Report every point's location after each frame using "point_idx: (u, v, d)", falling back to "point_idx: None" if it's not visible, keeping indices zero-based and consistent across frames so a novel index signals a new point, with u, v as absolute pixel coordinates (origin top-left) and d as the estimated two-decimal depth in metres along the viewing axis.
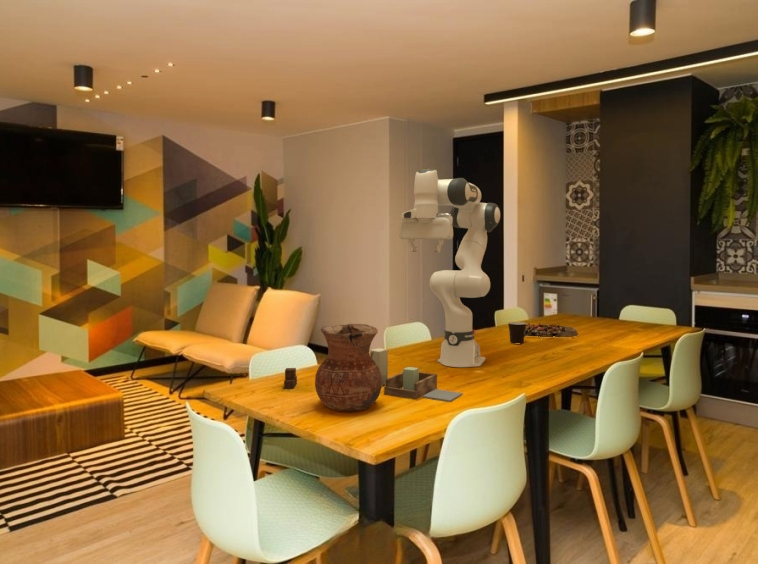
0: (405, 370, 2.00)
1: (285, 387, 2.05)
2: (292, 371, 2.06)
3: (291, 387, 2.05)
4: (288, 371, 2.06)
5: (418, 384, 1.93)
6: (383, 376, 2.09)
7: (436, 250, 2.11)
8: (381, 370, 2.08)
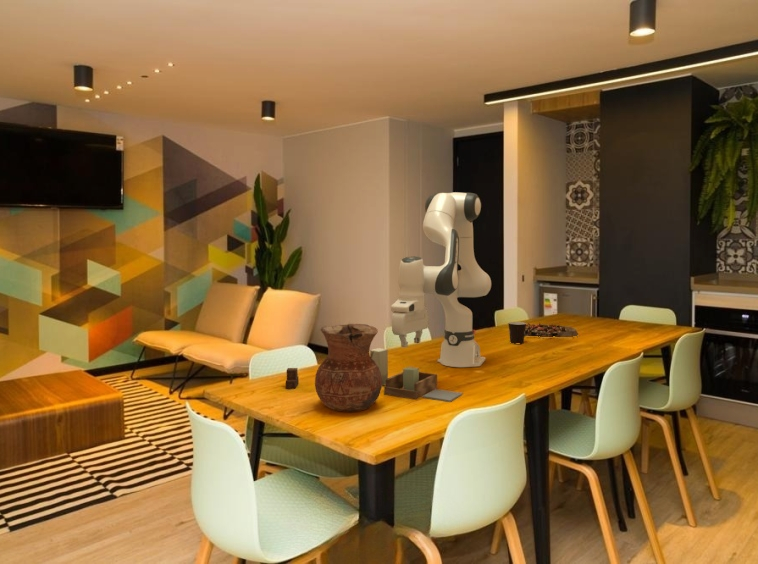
0: (405, 370, 2.00)
1: (287, 387, 2.05)
2: (294, 371, 2.06)
3: (293, 387, 2.05)
4: (290, 371, 2.06)
5: (418, 384, 1.93)
6: (383, 376, 2.09)
7: (419, 341, 2.03)
8: (381, 370, 2.08)
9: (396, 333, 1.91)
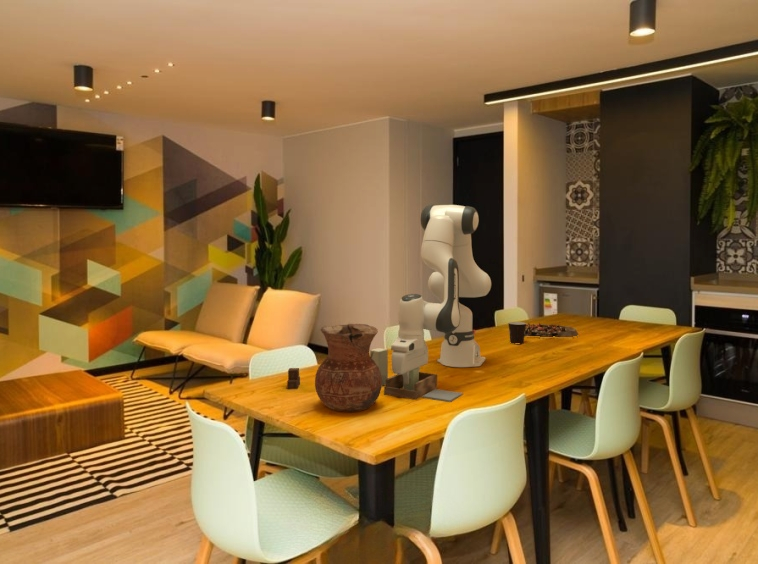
0: None
1: (288, 387, 2.05)
2: (295, 371, 2.06)
3: (294, 387, 2.05)
4: (291, 371, 2.06)
5: (418, 384, 1.93)
6: (383, 376, 2.09)
7: None
8: (381, 370, 2.08)
9: (396, 372, 1.93)
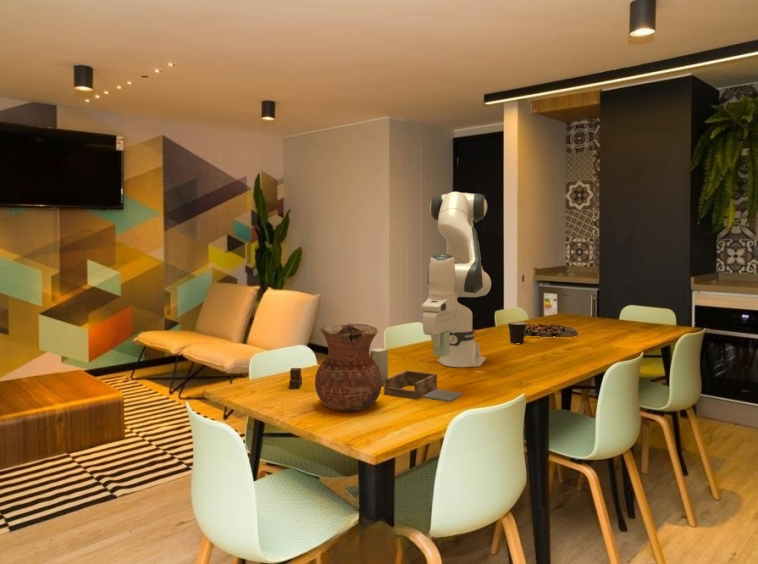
0: None
1: (290, 387, 2.05)
2: (297, 371, 2.06)
3: (296, 387, 2.05)
4: (293, 371, 2.06)
5: (418, 384, 1.93)
6: (383, 376, 2.09)
7: None
8: (381, 370, 2.08)
9: (427, 333, 1.86)
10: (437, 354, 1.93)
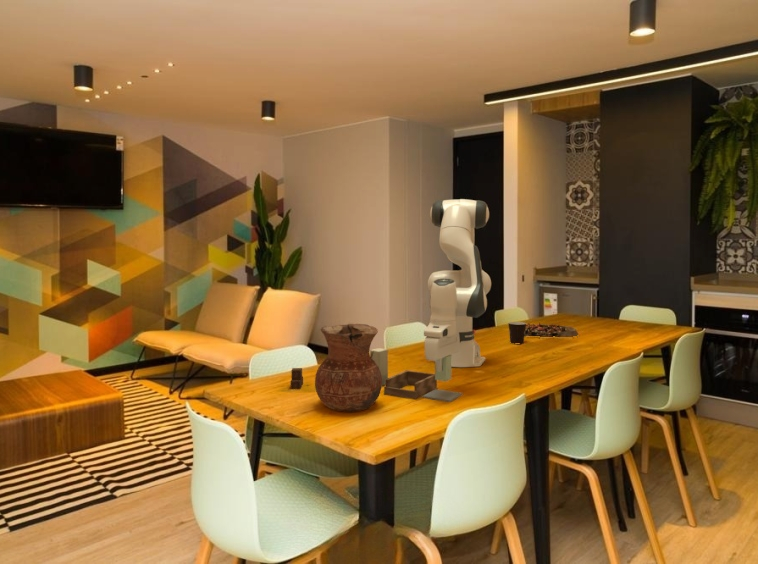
0: None
1: (292, 387, 2.05)
2: (299, 371, 2.06)
3: (298, 387, 2.05)
4: (295, 371, 2.06)
5: (418, 384, 1.93)
6: (383, 376, 2.09)
7: None
8: (381, 370, 2.08)
9: (429, 359, 1.86)
10: (439, 379, 1.93)
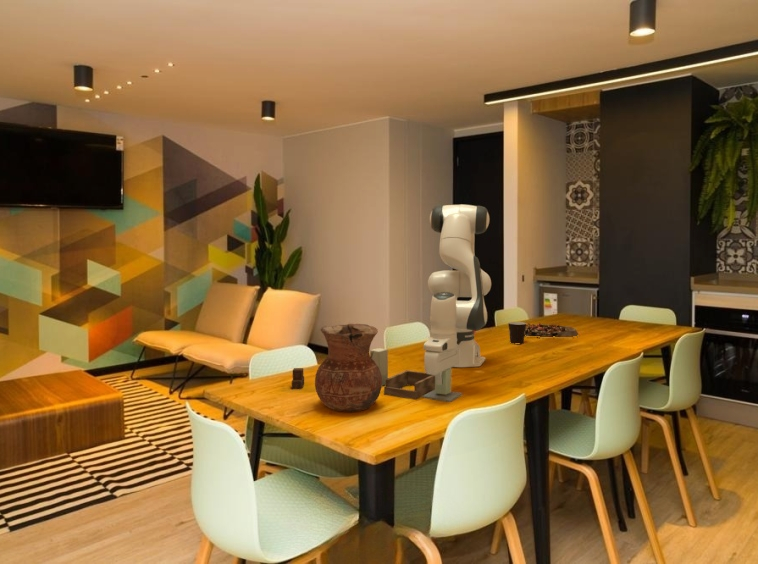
0: None
1: (293, 387, 2.05)
2: (300, 371, 2.06)
3: (299, 387, 2.05)
4: (296, 371, 2.06)
5: (418, 384, 1.93)
6: (383, 376, 2.09)
7: None
8: (381, 370, 2.08)
9: (429, 373, 1.86)
10: (439, 392, 1.94)
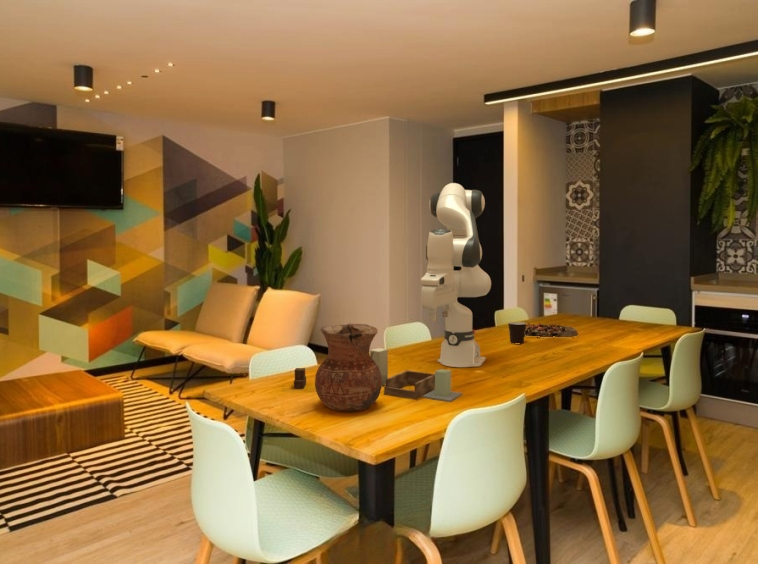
0: (437, 372, 1.94)
1: (295, 387, 2.05)
2: (302, 371, 2.06)
3: (301, 387, 2.05)
4: (298, 371, 2.06)
5: (418, 384, 1.93)
6: (383, 376, 2.09)
7: (448, 315, 2.00)
8: (381, 370, 2.08)
9: (426, 307, 1.88)
10: (438, 394, 1.94)
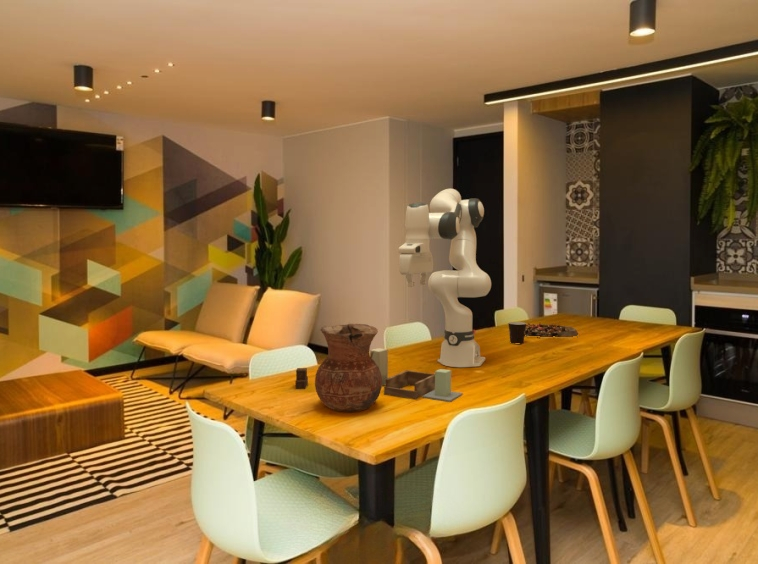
0: (437, 372, 1.94)
1: (296, 387, 2.05)
2: (303, 371, 2.06)
3: (302, 387, 2.05)
4: (299, 371, 2.06)
5: (418, 384, 1.93)
6: (383, 376, 2.09)
7: (425, 283, 2.17)
8: (381, 370, 2.08)
9: (403, 273, 2.05)
10: (438, 394, 1.94)
